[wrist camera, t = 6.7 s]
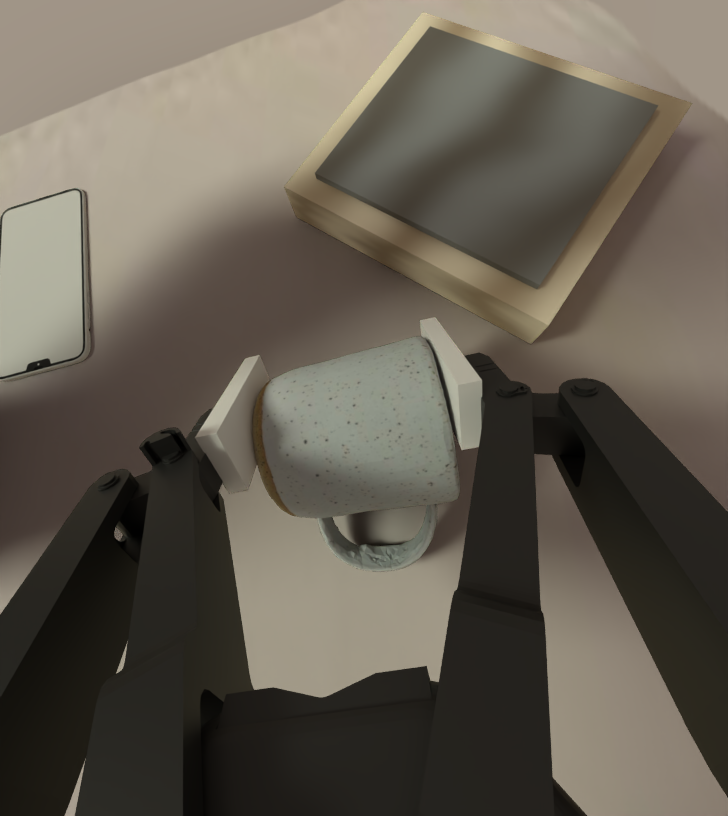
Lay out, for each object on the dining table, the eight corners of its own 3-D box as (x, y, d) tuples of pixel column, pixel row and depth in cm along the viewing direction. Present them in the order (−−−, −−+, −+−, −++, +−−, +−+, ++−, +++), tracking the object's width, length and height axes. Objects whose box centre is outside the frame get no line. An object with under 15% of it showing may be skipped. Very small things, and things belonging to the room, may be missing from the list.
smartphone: (83, 184, 26) (87, 357, 23) (91, 191, 27) (96, 361, 23) (-1, 210, 27) (-10, 383, 23) (9, 216, 27) (1, 386, 24)
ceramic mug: (290, 395, 21) (227, 351, 13) (420, 365, 20) (430, 302, 13) (319, 576, 18) (262, 647, 11) (465, 549, 18) (511, 605, 10)
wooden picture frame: (296, 217, 23) (281, 181, 21) (420, 57, 25) (423, 3, 22) (530, 344, 20) (552, 322, 17) (659, 146, 21) (698, 95, 18)
